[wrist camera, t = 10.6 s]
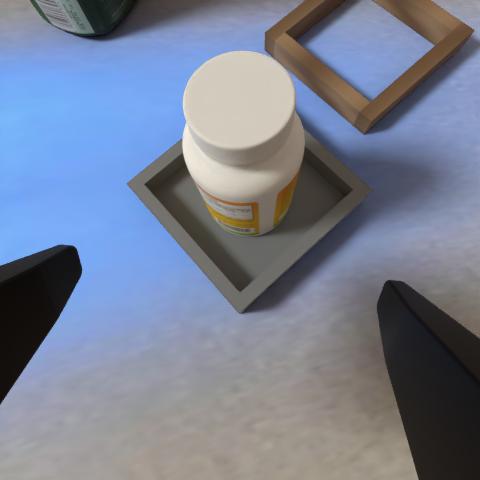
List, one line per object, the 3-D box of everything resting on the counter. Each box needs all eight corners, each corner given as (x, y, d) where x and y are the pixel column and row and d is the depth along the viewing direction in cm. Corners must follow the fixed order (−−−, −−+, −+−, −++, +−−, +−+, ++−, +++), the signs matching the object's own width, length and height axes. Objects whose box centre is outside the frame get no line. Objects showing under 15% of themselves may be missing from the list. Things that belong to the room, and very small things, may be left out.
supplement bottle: (270, 148, 21) (278, 11, 11) (304, 218, 20) (346, 129, 10) (196, 178, 21) (141, 65, 11) (225, 251, 19) (193, 192, 10)
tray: (362, 202, 20) (372, 190, 18) (241, 313, 19) (238, 313, 17) (252, 101, 23) (251, 81, 21) (138, 195, 21) (126, 183, 19)
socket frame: (460, 48, 22) (474, 30, 21) (363, 134, 21) (371, 121, 20) (357, -25, 25) (363, -46, 23) (264, 50, 24) (265, 32, 22)
